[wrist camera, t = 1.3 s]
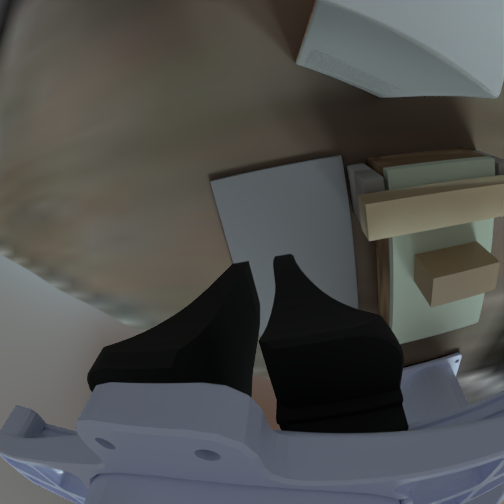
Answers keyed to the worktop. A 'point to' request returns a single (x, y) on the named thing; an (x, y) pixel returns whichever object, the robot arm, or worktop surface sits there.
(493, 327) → the worktop surface
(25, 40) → the worktop surface
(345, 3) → the small box
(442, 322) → the mint green slab
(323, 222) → the mat
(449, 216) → the beige rectangular bar
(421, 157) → the open brown box
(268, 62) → the worktop surface
